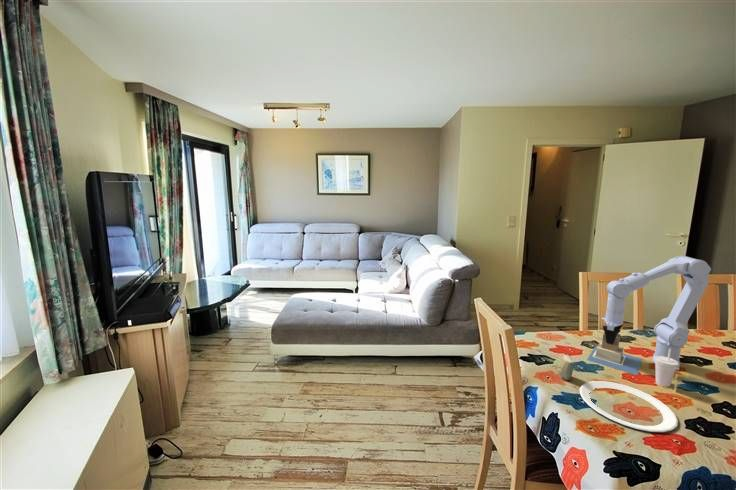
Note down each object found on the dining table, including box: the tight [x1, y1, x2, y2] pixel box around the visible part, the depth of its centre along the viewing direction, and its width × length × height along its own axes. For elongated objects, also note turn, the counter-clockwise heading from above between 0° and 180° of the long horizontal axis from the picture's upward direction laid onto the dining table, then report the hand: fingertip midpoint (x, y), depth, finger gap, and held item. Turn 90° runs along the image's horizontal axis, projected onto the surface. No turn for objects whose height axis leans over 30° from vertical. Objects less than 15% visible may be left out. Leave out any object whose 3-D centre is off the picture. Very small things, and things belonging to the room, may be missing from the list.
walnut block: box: [601, 331, 621, 352], centre depth 131 cm, size 5×5×6 cm
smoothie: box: [653, 349, 680, 388], centre depth 113 cm, size 6×6×14 cm
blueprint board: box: [586, 345, 643, 376], centre depth 130 cm, size 17×16×1 cm
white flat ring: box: [579, 380, 679, 433], centre depth 103 cm, size 25×25×1 cm
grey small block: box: [557, 354, 575, 382], centre depth 118 cm, size 6×5×8 cm
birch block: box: [596, 341, 625, 364], centre depth 132 cm, size 8×8×4 cm
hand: (611, 341), depth 131 cm, fingers open, 5 cm apart
